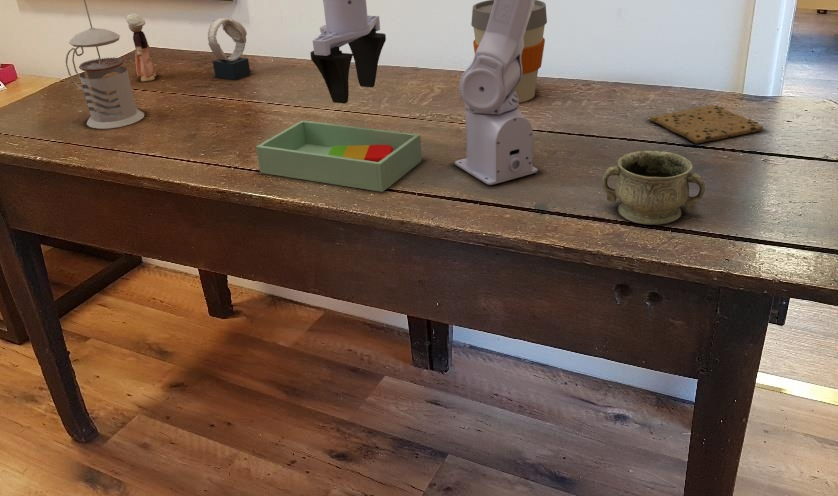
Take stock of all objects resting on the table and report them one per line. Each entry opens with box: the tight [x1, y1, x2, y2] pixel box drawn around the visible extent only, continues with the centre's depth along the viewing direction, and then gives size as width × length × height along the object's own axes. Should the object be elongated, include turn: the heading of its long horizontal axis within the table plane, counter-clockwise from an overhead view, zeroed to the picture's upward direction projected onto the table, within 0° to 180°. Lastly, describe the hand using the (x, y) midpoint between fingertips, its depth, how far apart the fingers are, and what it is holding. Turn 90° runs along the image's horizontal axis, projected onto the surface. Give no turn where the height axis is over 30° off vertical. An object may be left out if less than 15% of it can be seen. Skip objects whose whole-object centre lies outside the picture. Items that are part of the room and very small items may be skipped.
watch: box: [207, 17, 252, 81], centre depth 157 cm, size 6×8×11 cm
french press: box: [65, 0, 145, 129], centre depth 134 cm, size 10×12×25 cm
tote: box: [255, 119, 423, 193], centre depth 114 cm, size 20×12×4 cm, turn 63°
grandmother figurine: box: [126, 13, 157, 82], centre depth 158 cm, size 8×4×13 cm, turn 17°
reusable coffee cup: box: [470, 0, 548, 103], centre depth 135 cm, size 13×13×15 cm
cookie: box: [649, 104, 764, 144], centre depth 121 cm, size 12×12×1 cm
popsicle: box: [328, 145, 394, 162], centre depth 114 cm, size 6×15×2 cm, turn 85°
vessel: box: [601, 150, 706, 226], centre depth 96 cm, size 12×9×6 cm
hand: (354, 94), depth 113 cm, fingers open, 7 cm apart
